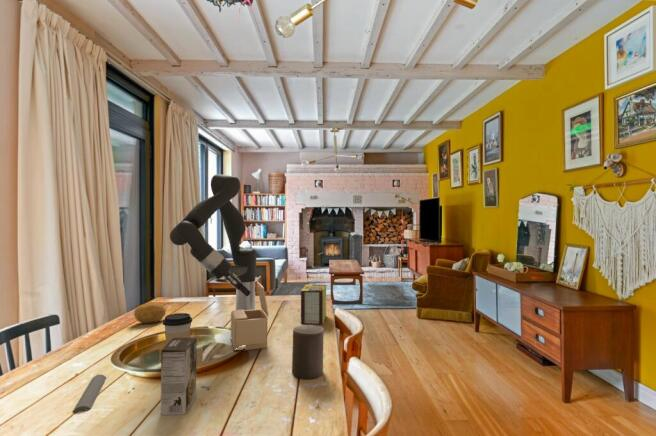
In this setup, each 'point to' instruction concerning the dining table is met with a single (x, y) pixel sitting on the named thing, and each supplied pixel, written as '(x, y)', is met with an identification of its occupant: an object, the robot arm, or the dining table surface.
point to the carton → (249, 329)
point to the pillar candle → (307, 351)
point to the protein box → (313, 304)
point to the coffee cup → (177, 326)
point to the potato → (150, 312)
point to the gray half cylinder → (90, 393)
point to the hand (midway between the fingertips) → (248, 294)
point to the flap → (262, 298)
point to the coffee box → (178, 376)
